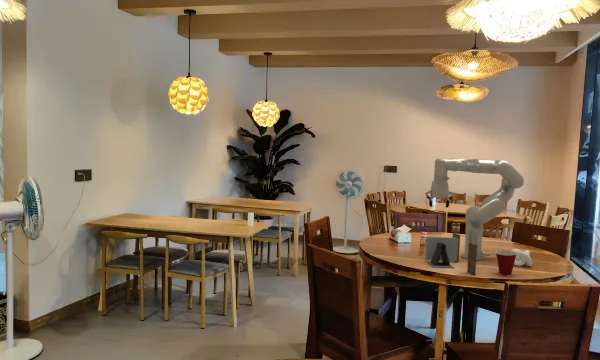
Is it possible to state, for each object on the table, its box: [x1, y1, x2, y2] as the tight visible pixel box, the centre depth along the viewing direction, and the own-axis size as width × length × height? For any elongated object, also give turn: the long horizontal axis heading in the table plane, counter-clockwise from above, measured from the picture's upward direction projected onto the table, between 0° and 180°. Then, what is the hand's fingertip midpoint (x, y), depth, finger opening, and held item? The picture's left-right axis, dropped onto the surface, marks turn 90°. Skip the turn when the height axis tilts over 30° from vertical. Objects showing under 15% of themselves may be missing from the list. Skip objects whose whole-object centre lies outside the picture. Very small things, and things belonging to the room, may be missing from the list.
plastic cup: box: [494, 250, 517, 276], centre depth 232 cm, size 11×11×12 cm
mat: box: [426, 261, 455, 269], centre depth 247 cm, size 12×12×1 cm
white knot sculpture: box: [511, 248, 533, 267], centre depth 254 cm, size 11×12×9 cm
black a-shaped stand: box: [429, 242, 451, 266], centre depth 247 cm, size 9×6×12 cm, turn 96°
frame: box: [451, 232, 477, 276], centre depth 245 cm, size 2×35×16 cm, turn 178°
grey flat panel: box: [424, 236, 458, 262], centre depth 254 cm, size 2×18×14 cm, turn 88°
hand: (438, 207), depth 268 cm, fingers open, 9 cm apart
